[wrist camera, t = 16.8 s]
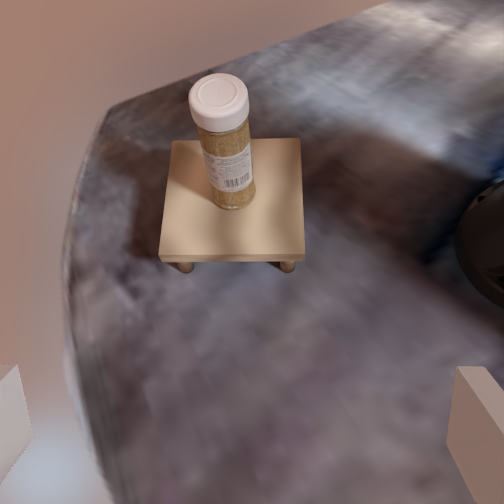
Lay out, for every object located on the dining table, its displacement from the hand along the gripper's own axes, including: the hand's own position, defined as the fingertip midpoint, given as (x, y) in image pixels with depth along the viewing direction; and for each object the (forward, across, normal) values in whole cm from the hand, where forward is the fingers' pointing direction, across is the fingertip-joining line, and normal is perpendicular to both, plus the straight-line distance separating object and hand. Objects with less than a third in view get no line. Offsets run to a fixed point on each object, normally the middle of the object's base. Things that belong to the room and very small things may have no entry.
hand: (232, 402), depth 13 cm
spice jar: (+34, -3, 0) cm, 34 cm away
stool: (+38, -3, -4) cm, 38 cm away
